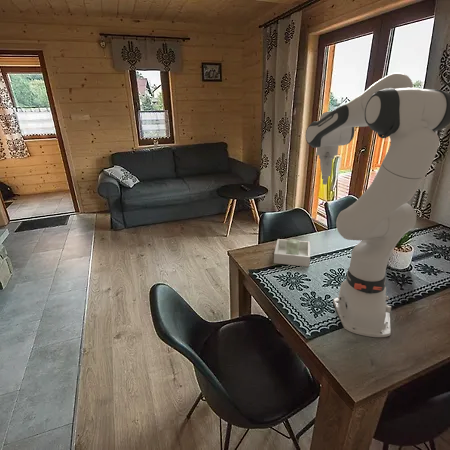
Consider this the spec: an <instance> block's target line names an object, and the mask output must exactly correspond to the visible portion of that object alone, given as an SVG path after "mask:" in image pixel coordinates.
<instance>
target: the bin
mask: <svg viewBox="0 0 450 450" xmlns="http://www.w3.org/2000/svg"><path fill="white" fill-rule="evenodd" d="M287 240H288V239H284V238H281V239H280V238H277V241H276V245H275V248H274V252H273V264H278V265H290V266H300V267H307V268H309V267H310V264H311V263H310V261H311V241H309V240H298V241H299V242H300V246H299V255H294V254H286V248H287Z"/></svg>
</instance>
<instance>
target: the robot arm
mask: <svg viewBox="0 0 450 450" xmlns="http://www.w3.org/2000/svg"><path fill="white" fill-rule="evenodd" d="M449 124H450V92H447V91H444V90H443V89H442V90H441V89H432V88H431V89H429V88H419V87H414V84H413V81H412V79H411V78H410V76H409V75H407V74H405V73H401V72H393V73H390V74H388V75H386V76H383V78H380V79H379V80H378V81H376V82H374V83H373V84H372V85H370V86H369V87H368V88H367V89H366V90H365V91H363V92H362V93H361V94H360V95H357V96H355V98H353V99H352V100H350V101H348V102H346V103H344V104H342V105H341V106H338V107H337V108H335V109H334V110H331V111H326V112H322V114H321V116H320V120H318V121H316V120H315V121H312V122H311V123H310V124H309V125H308V127H307V128H306V131H305V141H306V143H307V144H308V145H309V146H310V147H311V148H315V149H316V156H318V159H319V162H320V172H321V180H322V185H328V180H329V179H328V178H329V177H331V176H332V169H333V167H332V165H333V160H334V159H335V157H336V156H338V153H339V147H340V146H346V145H349V144H350V143H351V141H352V140H353V139H354V136H355V128H362V127H365V128H366V127H369V129H371V130H372V131H373V132H375V133H377V136H378V137H379V138H380V139H387V138H388V137H389V140H390V145H389V148H388V150H387V152H386V154H385V155H384V159H383V160H382V163H381V164H380V166H379V168H378V170H377V173H376V175H375V176H374V179H373V181H372V182H371V184H370V185H369V186H368V188H367V189H366V190H365V191H364V192H363V194H362V195H360V196H359V198H358V199H357V200H355V202H353V203H352V204H351V205H349V206H348V207H347V208H345V209H343V210H341V211H340V212H339V213H338V215H337V217H336V223H335V224H336V230H337V231H338V234H339V235H340V236H341V237H342V238H343V239H345V240H347V241H359V242H358V243H357V244H356V245H355V246H353V248H352V250H351V253H350V254H351V256H350V261H349V267H348V268H347V272H346V278H345V280H344V281H342V282H341V283H340V287H339V293H338V297H335V298H333V299H332V302H333V305H334V308H335V310H336V312H337V314H338V317H339V319H340V321H341V324H342V327H343V328H344V329H345V330H346V331H348V332H350V333H353V334H356V335H360V336H364V337H365V336H366V337H369V338H370V337H371V338H372V337H373V338H386V337H390V336H391V331H392V329H391V312H392V306H391V305H388V303H387V301H389V299H390V297H389V296H388V295H386V293H387V287H386V282H387V280H386V278H387V276H386V271H387V266H388V263H389V259H390V256H391V254H392V252H393V250H394V249H395V248H396V246H397V244H398V243H399V242H400V240H401V239H402V238H403V237H404V235H406V234H407V233H408V232H409V231H411V230H413V228H414V227H415V225H416V223H417V213H416V211H415V209H414V207H413V206H412V205H411V204H409V203H408V202H409V201H410V200H412V198H413V197H414V195H415V194H416V192H417V191H418V188H419V187H420V185H421V183H422V182H423V180H425V179H424V178H425V176H427V173H428V172H429V170H430V168H431V166H432V164H433V162H434V160H435V157H436V154H437V152H438V150H439V149H438V148H439V146H440V138H439V134H438V133H436V132H437V131H440V130H443V129H445V128H446V127H447V126H448V125H449Z"/></svg>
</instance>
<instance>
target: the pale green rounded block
mask: <svg viewBox="0 0 450 450" xmlns="http://www.w3.org/2000/svg"><path fill="white" fill-rule="evenodd" d="M286 240H287V248H286V254H294V255H299V246H300V242H299V241H300V240H298V239H295V238H290V239H286Z"/></svg>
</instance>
